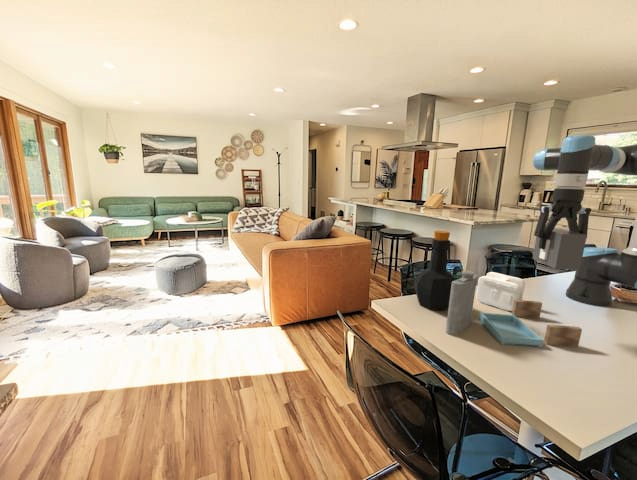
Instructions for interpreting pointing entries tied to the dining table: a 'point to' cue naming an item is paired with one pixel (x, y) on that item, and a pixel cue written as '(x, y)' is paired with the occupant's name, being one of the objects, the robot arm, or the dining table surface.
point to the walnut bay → (553, 332)
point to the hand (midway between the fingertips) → (555, 259)
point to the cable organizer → (500, 290)
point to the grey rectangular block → (562, 249)
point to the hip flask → (461, 303)
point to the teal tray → (510, 330)
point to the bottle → (436, 276)
